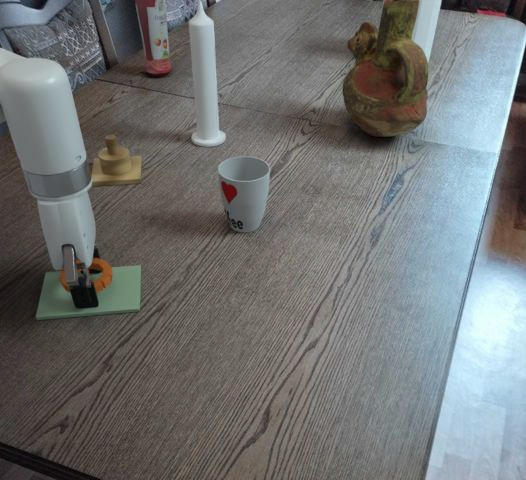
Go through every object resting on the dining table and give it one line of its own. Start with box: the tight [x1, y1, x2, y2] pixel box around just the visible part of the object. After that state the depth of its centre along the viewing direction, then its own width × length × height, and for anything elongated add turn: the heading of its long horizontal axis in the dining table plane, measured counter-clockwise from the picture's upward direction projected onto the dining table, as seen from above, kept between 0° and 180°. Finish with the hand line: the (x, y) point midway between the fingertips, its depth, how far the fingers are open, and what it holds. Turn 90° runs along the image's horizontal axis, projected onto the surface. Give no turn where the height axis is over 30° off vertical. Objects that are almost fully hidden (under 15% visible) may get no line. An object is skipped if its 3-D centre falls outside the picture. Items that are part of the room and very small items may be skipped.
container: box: [379, 0, 443, 64], centre depth 142 cm, size 14×14×18 cm
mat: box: [35, 264, 142, 321], centre depth 79 cm, size 14×10×1 cm
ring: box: [60, 258, 113, 293], centre depth 77 cm, size 7×7×1 cm
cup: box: [217, 155, 271, 233], centre depth 88 cm, size 8×8×10 cm
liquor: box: [134, 0, 173, 78], centre depth 129 cm, size 7×7×28 cm
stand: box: [91, 134, 143, 187], centre depth 101 cm, size 9×9×7 cm
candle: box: [188, 0, 227, 148], centre depth 105 cm, size 7×7×25 cm
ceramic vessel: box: [342, 0, 429, 138], centre depth 109 cm, size 17×26×25 cm, turn 27°
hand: (89, 287), depth 79 cm, fingers closed on ring, 7 cm apart
